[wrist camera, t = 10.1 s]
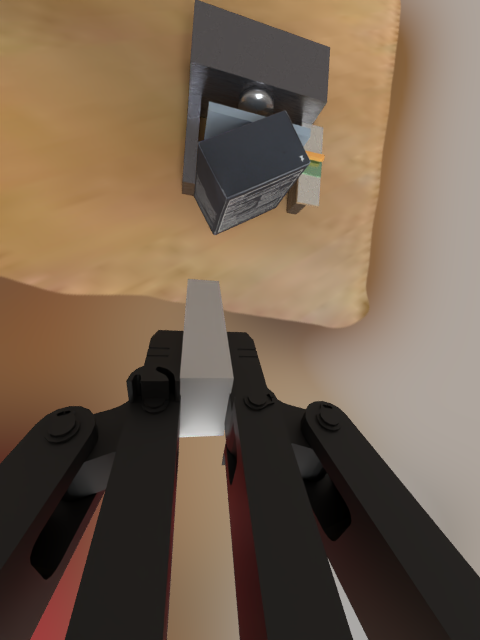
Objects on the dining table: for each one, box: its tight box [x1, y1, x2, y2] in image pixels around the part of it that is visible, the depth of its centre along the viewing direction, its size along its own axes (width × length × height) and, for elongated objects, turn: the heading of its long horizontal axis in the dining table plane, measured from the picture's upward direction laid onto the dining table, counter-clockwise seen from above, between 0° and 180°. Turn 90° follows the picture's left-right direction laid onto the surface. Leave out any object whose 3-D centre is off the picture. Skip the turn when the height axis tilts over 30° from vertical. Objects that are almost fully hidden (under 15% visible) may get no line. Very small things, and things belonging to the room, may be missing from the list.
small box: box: [194, 110, 310, 235], centre depth 31 cm, size 11×6×10 cm, turn 118°
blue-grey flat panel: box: [204, 102, 324, 162], centre depth 32 cm, size 1×16×7 cm, turn 85°
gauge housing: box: [182, 0, 330, 214], centre depth 33 cm, size 18×18×7 cm
